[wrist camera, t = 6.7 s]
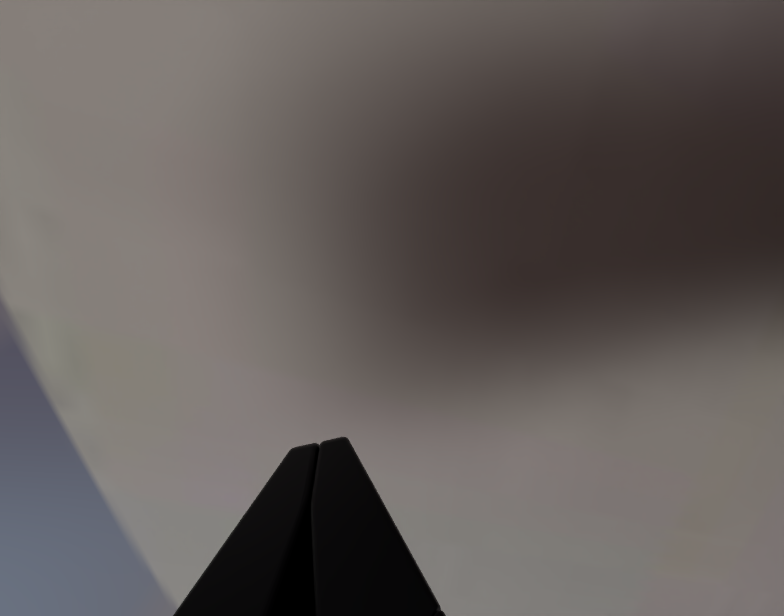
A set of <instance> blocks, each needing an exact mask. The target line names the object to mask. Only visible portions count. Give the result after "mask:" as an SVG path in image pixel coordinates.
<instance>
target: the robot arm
mask: <svg viewBox="0 0 784 616" xmlns="http://www.w3.org/2000/svg"><path fill="white" fill-rule="evenodd" d="M173 616H446V615H445V613H444V612H443V611H441V608H440V605H439V603H438V601H437V600H436V598H435V596H434V594H433V592H432V590H431V589H430V587H429V585H428V583H427V581H426V580H425V578H424V576H423V574H422V572H421V570H420V569H419V567H418V565H417V563H416V561H415V560H414V558H413V556H412V554H411V552H410V550H409V549H408V547H407V545H406V543H405V541H404V540H403V538H402V536H401V534H400V532H399V530H398V529H397V527H396V525H395V523H394V521H393V519H392V518H391V516H390V514H389V512H388V510H387V509H386V507H385V505H384V503H383V501H382V499H381V498H380V496H379V494H378V492H377V490H376V489H375V487H374V485H373V483H372V481H371V479H370V478H369V476H368V474H367V472H366V470H365V469H364V467H363V465H362V463H361V461H360V459H359V458H358V456H357V454H356V452H355V450H354V448H353V447H352V445H351V443H350V441H349V440H348V438H346V437H340V438H335V439H331V440H326V441H323V442H322V443H321V444H320V445H319V444H317V443H312V444H308V445H303V446H298V447H295V448H292V449H291V450H290V451H289V452H288V454H287V455H286V456H285V458H284V459H283V461H282V462H281V463H280V465H279V466H278V468H277V469H276V471H275V472H274V473H273V475H272V476H271V478H270V479H269V480H268V482H267V483H266V485H265V486H264V488H263V489H262V490H261V492H260V493H259V495H258V496H257V498H256V499H255V500H254V502H253V503H252V505H251V506H250V507H249V509H248V510H247V512H246V513H245V515H244V516H243V517H242V519H241V520H240V522H239V523H238V524H237V526H236V527H235V529H234V530H233V532H232V533H231V534H230V536H229V537H228V539H227V540H226V541H225V543H224V544H223V546H222V547H221V549H220V550H219V551H218V553H217V554H216V556H215V557H214V558H213V560H212V561H211V563H210V564H209V566H208V567H207V568H206V570H205V571H204V573H203V574H202V575H201V577H200V578H199V580H198V581H197V583H196V584H195V585H194V587H193V588H192V590H191V591H190V592H189V594H188V595H187V597H186V598H185V600H184V601H183V602H182V604H181V605H180V607H179V608H178V609H177V611H176V612H175V614H174V615H173Z"/></svg>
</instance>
